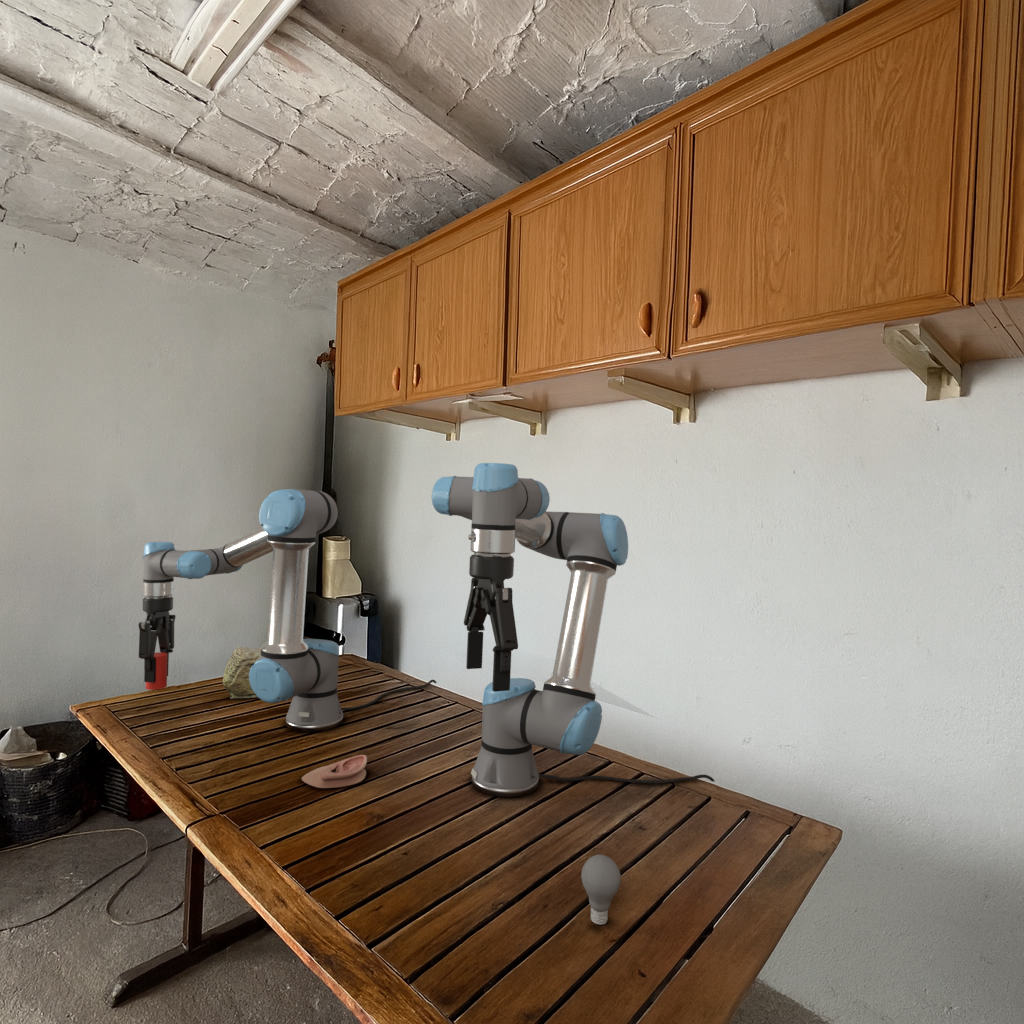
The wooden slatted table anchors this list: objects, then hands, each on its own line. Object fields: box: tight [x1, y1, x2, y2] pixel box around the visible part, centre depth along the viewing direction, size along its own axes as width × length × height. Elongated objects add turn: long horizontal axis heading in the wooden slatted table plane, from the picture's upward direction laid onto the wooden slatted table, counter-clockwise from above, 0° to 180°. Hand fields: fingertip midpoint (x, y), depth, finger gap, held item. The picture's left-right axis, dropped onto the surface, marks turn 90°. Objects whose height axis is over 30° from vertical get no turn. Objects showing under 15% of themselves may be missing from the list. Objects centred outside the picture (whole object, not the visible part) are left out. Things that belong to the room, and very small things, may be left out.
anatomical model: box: [301, 754, 368, 789], centre depth 143 cm, size 13×4×12 cm
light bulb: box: [580, 854, 622, 926], centre depth 97 cm, size 6×6×10 cm
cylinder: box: [145, 651, 168, 691], centre depth 179 cm, size 5×5×9 cm
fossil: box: [222, 646, 261, 699], centre depth 198 cm, size 9×18×15 cm, turn 132°
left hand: (156, 678), depth 179 cm, fingers closed on cylinder, 5 cm apart
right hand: (486, 678), depth 108 cm, fingers open, 13 cm apart
